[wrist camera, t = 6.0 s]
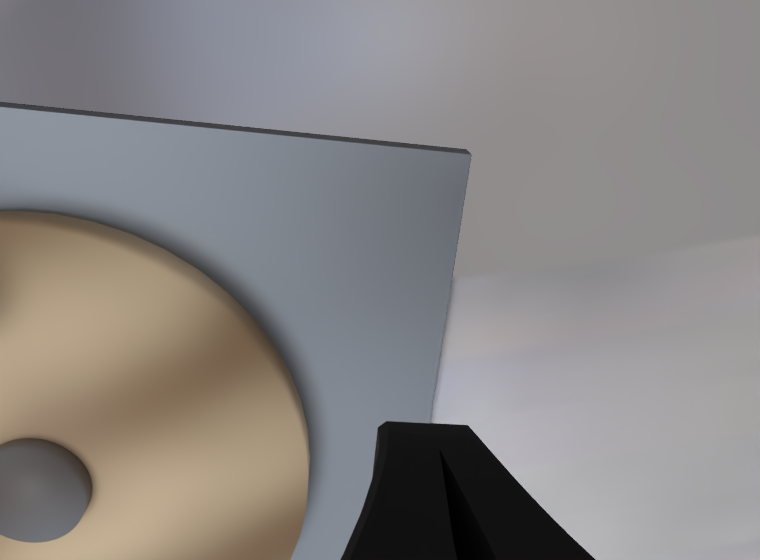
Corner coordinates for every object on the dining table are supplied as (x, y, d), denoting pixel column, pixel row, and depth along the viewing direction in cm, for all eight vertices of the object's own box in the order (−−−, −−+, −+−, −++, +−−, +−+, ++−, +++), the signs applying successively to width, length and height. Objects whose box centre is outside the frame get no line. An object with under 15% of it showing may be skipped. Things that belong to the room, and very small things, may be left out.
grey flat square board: (384, 680, 25) (386, 708, 24) (-245, 662, 23) (-272, 692, 22) (465, 149, 18) (474, 156, 17) (-422, 59, 16) (-474, 60, 15)
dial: (412, 456, 20) (430, 558, 16) (86, 721, 23) (35, 859, 20) (-8, 83, 16) (-122, 101, 12) (-340, 471, 19) (-517, 586, 15)
